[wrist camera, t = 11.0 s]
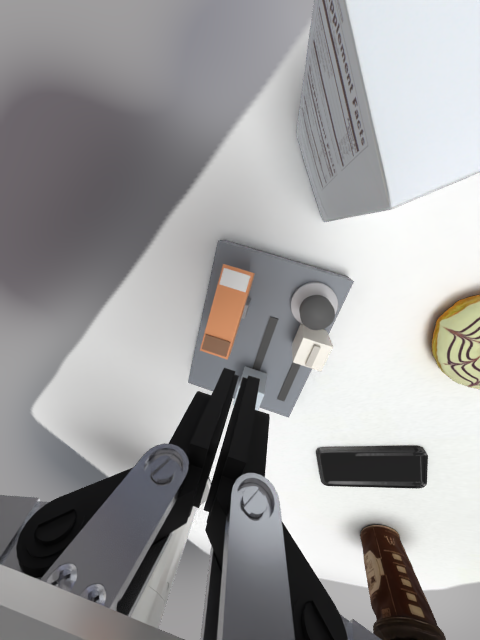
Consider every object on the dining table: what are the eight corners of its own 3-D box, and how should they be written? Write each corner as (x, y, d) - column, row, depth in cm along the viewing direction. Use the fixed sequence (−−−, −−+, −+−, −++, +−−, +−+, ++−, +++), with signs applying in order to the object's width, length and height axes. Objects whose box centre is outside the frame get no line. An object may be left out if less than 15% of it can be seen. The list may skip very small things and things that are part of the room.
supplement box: (322, 224, 25) (381, 218, 9) (293, 131, 22) (309, -84, 7) (423, 180, 22) (746, 66, 7) (403, 66, 19) (847, -548, 4)
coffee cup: (355, 548, 44) (382, 668, 32) (347, 519, 41) (373, 638, 29) (408, 550, 41) (457, 680, 29) (402, 520, 39) (455, 649, 27)
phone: (426, 488, 34) (321, 486, 38) (422, 481, 35) (320, 479, 39) (427, 449, 32) (315, 451, 36) (423, 442, 33) (314, 444, 37)
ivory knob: (316, 352, 27) (321, 373, 23) (291, 344, 27) (293, 364, 23) (326, 330, 26) (333, 349, 22) (301, 322, 26) (303, 339, 22)
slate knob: (260, 391, 31) (256, 415, 27) (239, 384, 31) (232, 407, 27) (267, 373, 30) (264, 396, 26) (244, 366, 30) (238, 387, 26)
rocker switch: (230, 353, 25) (227, 360, 23) (205, 344, 26) (199, 350, 23) (255, 273, 23) (253, 273, 21) (227, 264, 24) (222, 263, 21)
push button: (324, 328, 24) (326, 334, 23) (294, 318, 24) (295, 324, 23) (337, 300, 23) (340, 304, 21) (306, 290, 23) (307, 294, 22)
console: (288, 404, 34) (288, 431, 30) (194, 372, 35) (180, 394, 31) (347, 276, 26) (361, 287, 22) (223, 239, 27) (211, 242, 23)
